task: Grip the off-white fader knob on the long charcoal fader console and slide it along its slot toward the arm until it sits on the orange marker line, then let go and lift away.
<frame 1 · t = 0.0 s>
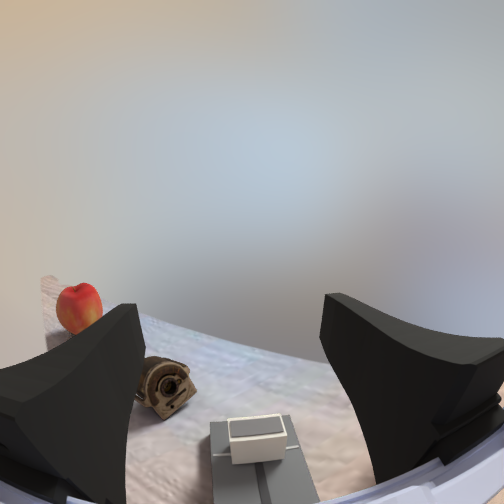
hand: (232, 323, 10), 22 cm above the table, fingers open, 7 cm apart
fader console: (263, 499, 19), on the table
apple: (85, 334, 48), on the table
fader knob: (256, 439, 22), point 4 cm above the table, slide at 5.0 cm
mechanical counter: (157, 392, 35), on the table
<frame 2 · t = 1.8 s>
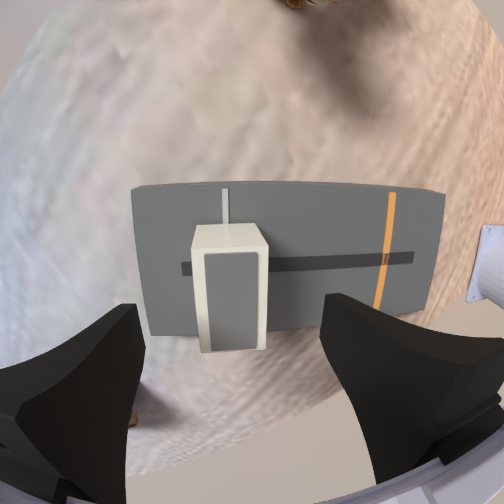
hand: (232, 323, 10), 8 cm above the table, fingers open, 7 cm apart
fader console: (303, 251, 18), on the table
fader knob: (229, 285, 14), point 4 cm above the table, slide at 5.0 cm
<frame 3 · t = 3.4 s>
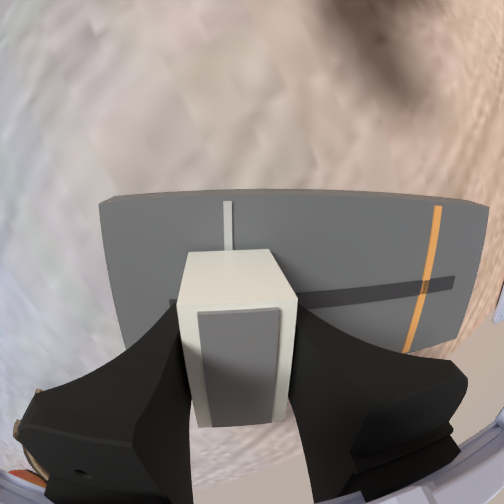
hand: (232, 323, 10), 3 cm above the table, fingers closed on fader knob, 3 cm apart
fader console: (326, 279, 14), on the table
apple: (36, 475, 20), on the table
fader knob: (234, 339, 9), point 4 cm above the table, slide at 5.0 cm, touching gripper
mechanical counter: (63, 421, 16), on the table
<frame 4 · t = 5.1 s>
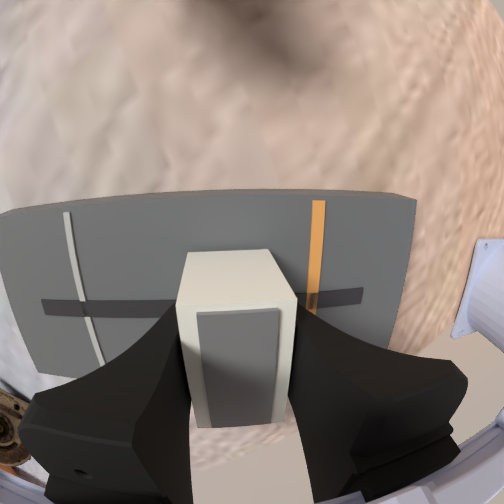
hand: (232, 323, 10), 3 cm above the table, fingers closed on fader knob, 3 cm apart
fader console: (195, 286, 13), on the table
apple: (6, 463, 19), on the table
fader knob: (234, 339, 9), point 4 cm above the table, slide at -1.5 cm, touching gripper
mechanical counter: (8, 409, 15), on the table
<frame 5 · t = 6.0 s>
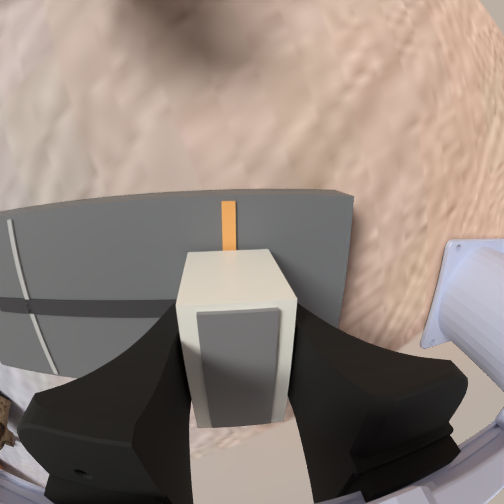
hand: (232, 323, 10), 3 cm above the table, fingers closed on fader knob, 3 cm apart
fader console: (127, 288, 13), on the table
fader knob: (234, 339, 9), point 4 cm above the table, slide at -4.9 cm, touching gripper
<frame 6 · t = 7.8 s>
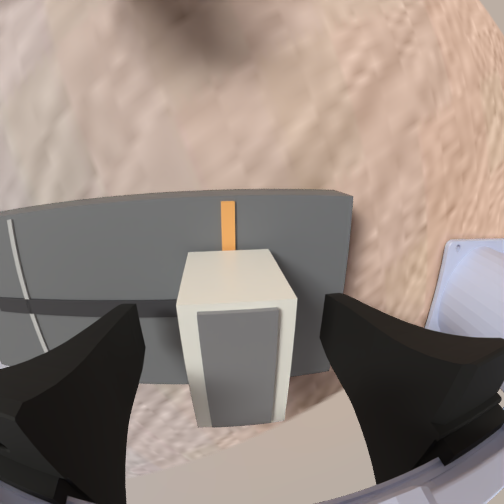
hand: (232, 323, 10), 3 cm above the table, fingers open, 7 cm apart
fader console: (127, 288, 13), on the table
fader knob: (234, 339, 9), point 4 cm above the table, slide at -5.0 cm
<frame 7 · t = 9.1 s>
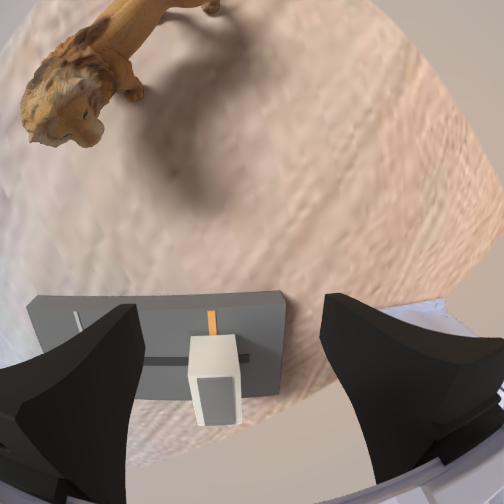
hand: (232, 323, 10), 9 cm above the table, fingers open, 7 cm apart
fader console: (153, 345, 21), on the table
fader knob: (216, 382, 18), point 4 cm above the table, slide at -5.0 cm
lion figurine: (149, 59, 15), on the table
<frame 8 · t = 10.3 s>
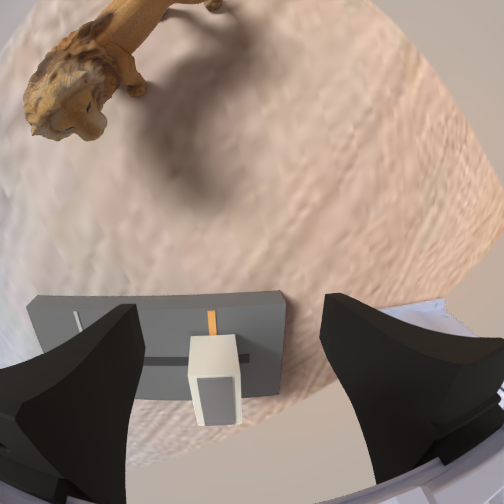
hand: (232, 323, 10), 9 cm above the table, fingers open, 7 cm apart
fader console: (153, 345, 21), on the table
fader knob: (216, 382, 18), point 4 cm above the table, slide at -5.0 cm
lion figurine: (151, 55, 15), on the table
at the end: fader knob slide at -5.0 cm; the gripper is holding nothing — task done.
